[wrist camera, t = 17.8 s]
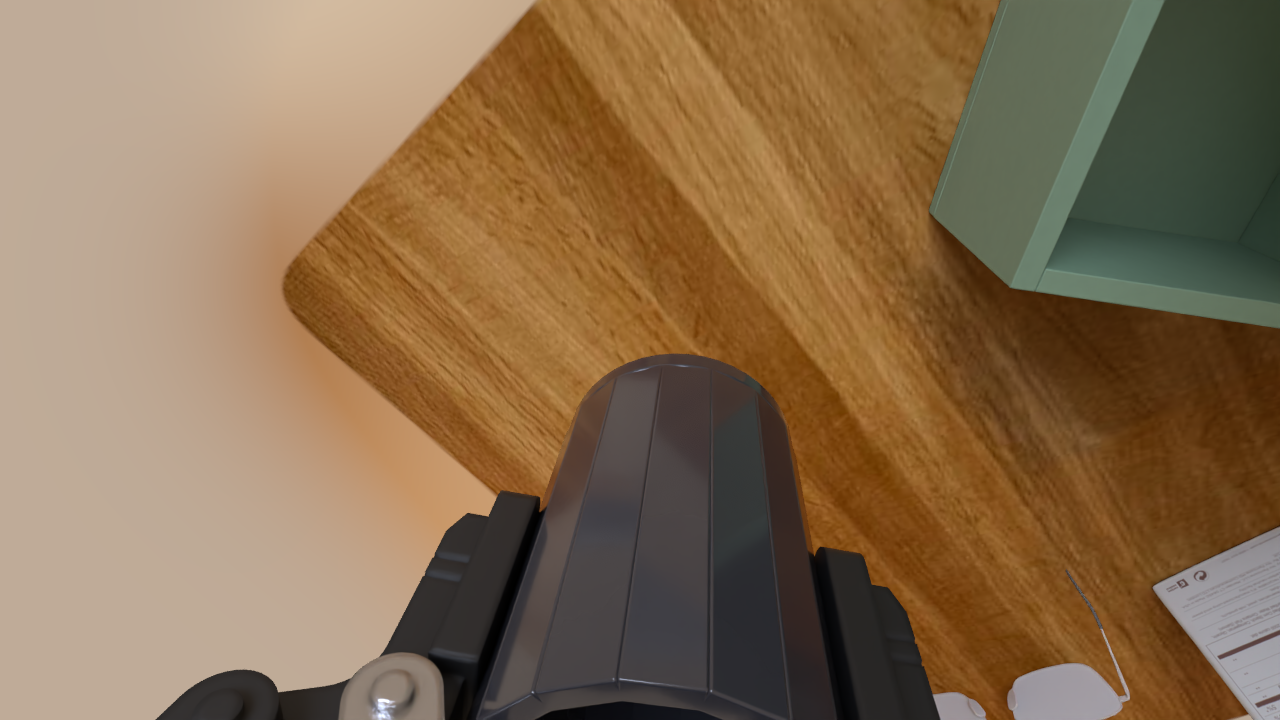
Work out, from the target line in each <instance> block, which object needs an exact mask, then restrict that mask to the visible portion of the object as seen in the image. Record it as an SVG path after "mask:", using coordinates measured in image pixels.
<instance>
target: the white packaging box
mask: <svg viewBox="0 0 1280 720" xmlns="http://www.w3.org/2000/svg"><path fill="white" fill-rule="evenodd" d="M1153 590H1154V592H1155V593H1156V594H1157V596H1158V597H1159V598H1160V600H1161V601H1162V602H1163V604H1164V605H1165V606H1166V607H1167V609H1168V610H1169V611H1170V612H1171V614H1172V615H1173V616H1174V618H1175V619H1176V620H1177V621H1178V623H1179V624H1180V625H1181V626H1182V628H1183V629H1184V630H1185V631H1186V633H1187V634H1188V635H1189V637H1190V638H1191V639H1192V640H1193V642H1194V643H1195V644H1196V646H1197V647H1198V648H1199V649H1200V651H1201V652H1202V653H1203V655H1204V656H1205V657H1206V659H1207V660H1208V661H1209V663H1210V664H1211V665H1212V666H1213V668H1214V669H1215V670H1216V672H1217V673H1218V674H1219V676H1220V677H1221V678H1222V679H1223V681H1224V682H1225V683H1226V685H1227V686H1228V687H1229V688H1230V690H1231V691H1232V692H1233V694H1234V695H1235V696H1236V698H1237V699H1238V700H1239V702H1240V703H1241V704H1242V706H1243V707H1244V708H1245V709H1246V711H1247V712H1248V713H1249V715H1250V716H1251V717H1252V719H1253V720H1280V527H1277V528H1275V529H1273V530H1271V531H1269V532H1266V533H1264V534H1262V535H1259V536H1257V537H1255V538H1253V539H1251V540H1249V541H1247V542H1244V543H1242V544H1240V545H1238V546H1236V547H1234V548H1232V549H1229V550H1227V551H1225V552H1223V553H1221V554H1219V555H1216V556H1214V557H1212V558H1210V559H1208V560H1206V561H1203V562H1201V563H1199V564H1197V565H1195V566H1193V567H1191V568H1189V569H1186V570H1184V571H1182V572H1180V573H1178V574H1176V575H1174V576H1172V577H1170V578H1168V579H1166V580H1164V581H1162V582H1160V583H1158V584H1156V585H1154V586H1153Z"/></svg>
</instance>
